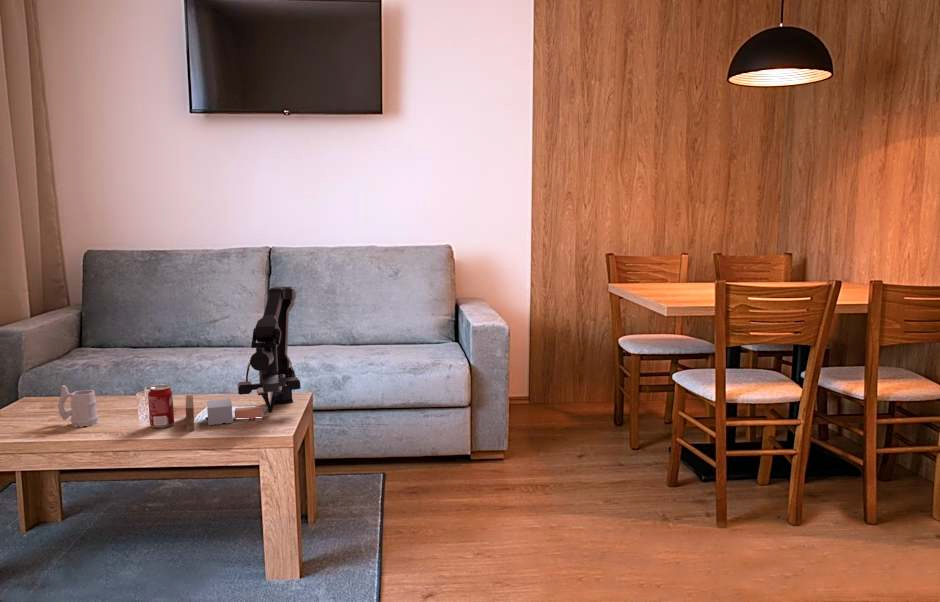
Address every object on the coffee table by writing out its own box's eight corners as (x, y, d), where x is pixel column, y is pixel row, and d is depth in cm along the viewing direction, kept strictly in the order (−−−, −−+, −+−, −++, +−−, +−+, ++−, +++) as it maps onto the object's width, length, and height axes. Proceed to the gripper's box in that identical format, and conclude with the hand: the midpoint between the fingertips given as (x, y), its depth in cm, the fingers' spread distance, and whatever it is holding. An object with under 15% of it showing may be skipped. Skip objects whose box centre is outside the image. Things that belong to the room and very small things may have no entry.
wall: (194, 416, 228) (192, 394, 227) (194, 430, 213) (192, 407, 212) (187, 417, 227) (186, 395, 226) (186, 431, 212) (185, 408, 211)
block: (231, 414, 228) (230, 398, 228) (232, 422, 220) (231, 405, 219) (207, 417, 226) (206, 400, 225) (208, 425, 217) (207, 408, 217)
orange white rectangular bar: (262, 416, 228) (262, 406, 228) (261, 419, 225) (261, 409, 225) (236, 417, 227) (235, 408, 226) (235, 420, 224) (234, 410, 223)
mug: (90, 427, 217) (87, 388, 215) (52, 427, 217) (48, 388, 216) (104, 420, 224) (101, 382, 223) (67, 420, 225) (64, 382, 223)
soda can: (169, 429, 215) (166, 389, 213) (146, 429, 215) (143, 389, 213) (177, 422, 221) (175, 384, 220) (155, 422, 221) (153, 384, 220)
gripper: (238, 371, 215) (241, 422, 217) (302, 366, 222) (304, 415, 224) (236, 364, 226) (238, 412, 228) (297, 359, 232) (298, 406, 234)
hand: (270, 412), depth 228 cm, fingers closed
